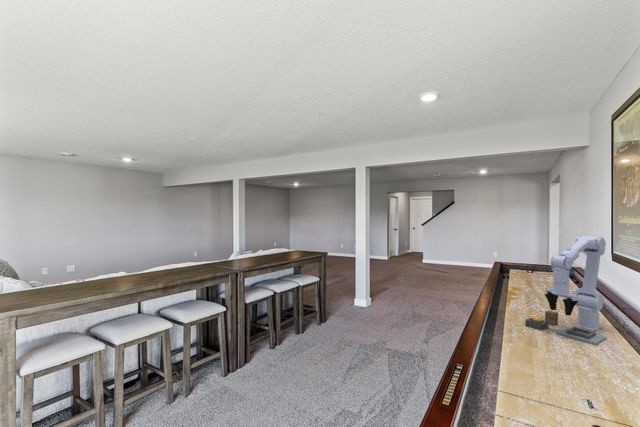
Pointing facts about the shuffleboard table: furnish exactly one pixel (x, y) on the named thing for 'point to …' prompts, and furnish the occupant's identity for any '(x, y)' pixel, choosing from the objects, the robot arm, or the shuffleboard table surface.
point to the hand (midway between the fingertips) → (560, 312)
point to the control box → (536, 324)
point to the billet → (551, 317)
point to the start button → (537, 319)
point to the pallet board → (582, 335)
